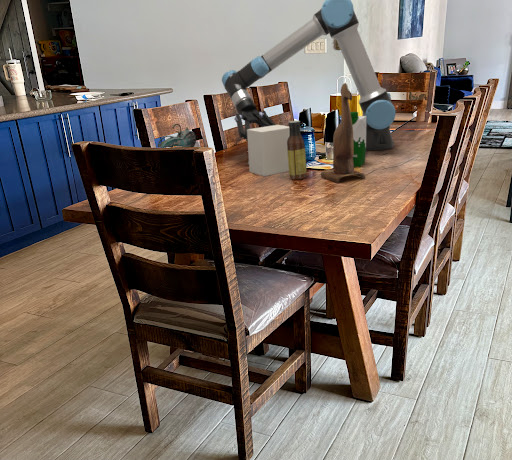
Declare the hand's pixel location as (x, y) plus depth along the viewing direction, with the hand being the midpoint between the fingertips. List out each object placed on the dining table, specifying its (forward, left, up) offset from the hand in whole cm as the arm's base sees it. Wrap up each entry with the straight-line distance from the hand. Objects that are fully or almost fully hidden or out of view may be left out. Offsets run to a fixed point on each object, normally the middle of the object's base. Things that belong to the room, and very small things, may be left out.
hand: (267, 147), depth 200 cm
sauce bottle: (-20, +14, -7) cm, 26 cm away
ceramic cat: (+21, +30, -8) cm, 37 cm away
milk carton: (-31, -11, -7) cm, 34 cm away
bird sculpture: (-35, +9, -8) cm, 37 cm away
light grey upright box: (-1, +4, -7) cm, 8 cm away
